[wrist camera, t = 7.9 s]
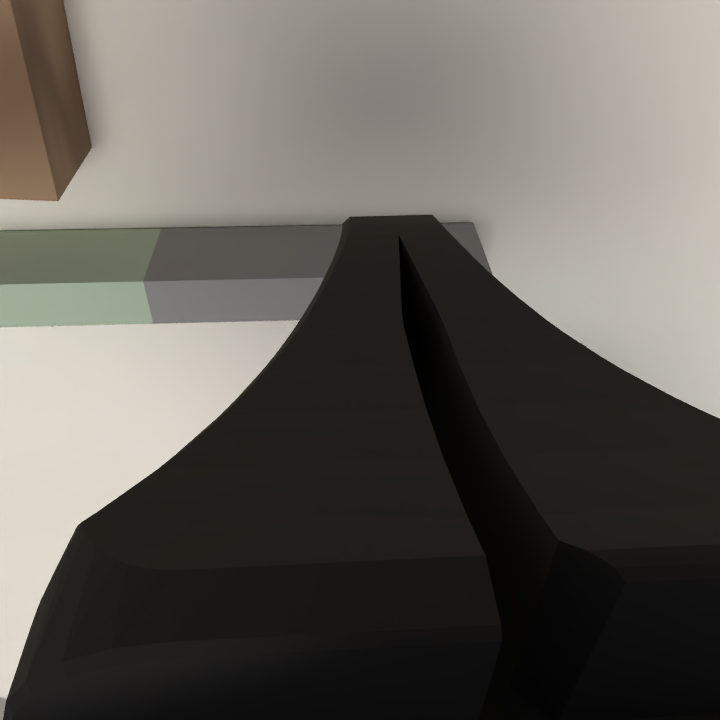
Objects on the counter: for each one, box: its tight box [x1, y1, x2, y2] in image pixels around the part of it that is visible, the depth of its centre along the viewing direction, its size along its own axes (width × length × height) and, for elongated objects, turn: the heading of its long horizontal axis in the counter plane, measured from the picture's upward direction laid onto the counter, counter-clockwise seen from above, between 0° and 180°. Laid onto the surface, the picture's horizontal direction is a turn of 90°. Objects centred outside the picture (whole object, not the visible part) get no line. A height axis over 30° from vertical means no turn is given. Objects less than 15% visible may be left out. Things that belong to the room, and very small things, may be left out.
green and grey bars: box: [0, 223, 492, 327], centre depth 16 cm, size 13×18×3 cm
